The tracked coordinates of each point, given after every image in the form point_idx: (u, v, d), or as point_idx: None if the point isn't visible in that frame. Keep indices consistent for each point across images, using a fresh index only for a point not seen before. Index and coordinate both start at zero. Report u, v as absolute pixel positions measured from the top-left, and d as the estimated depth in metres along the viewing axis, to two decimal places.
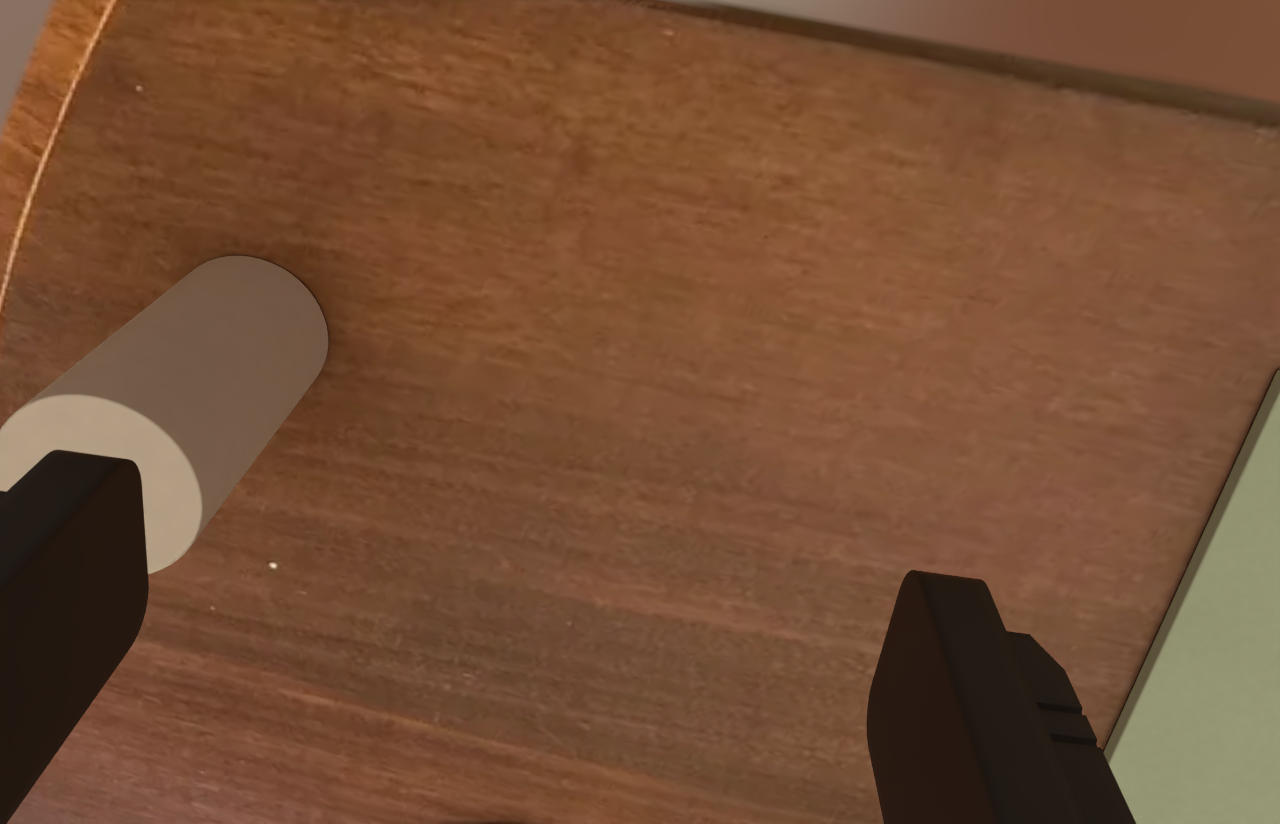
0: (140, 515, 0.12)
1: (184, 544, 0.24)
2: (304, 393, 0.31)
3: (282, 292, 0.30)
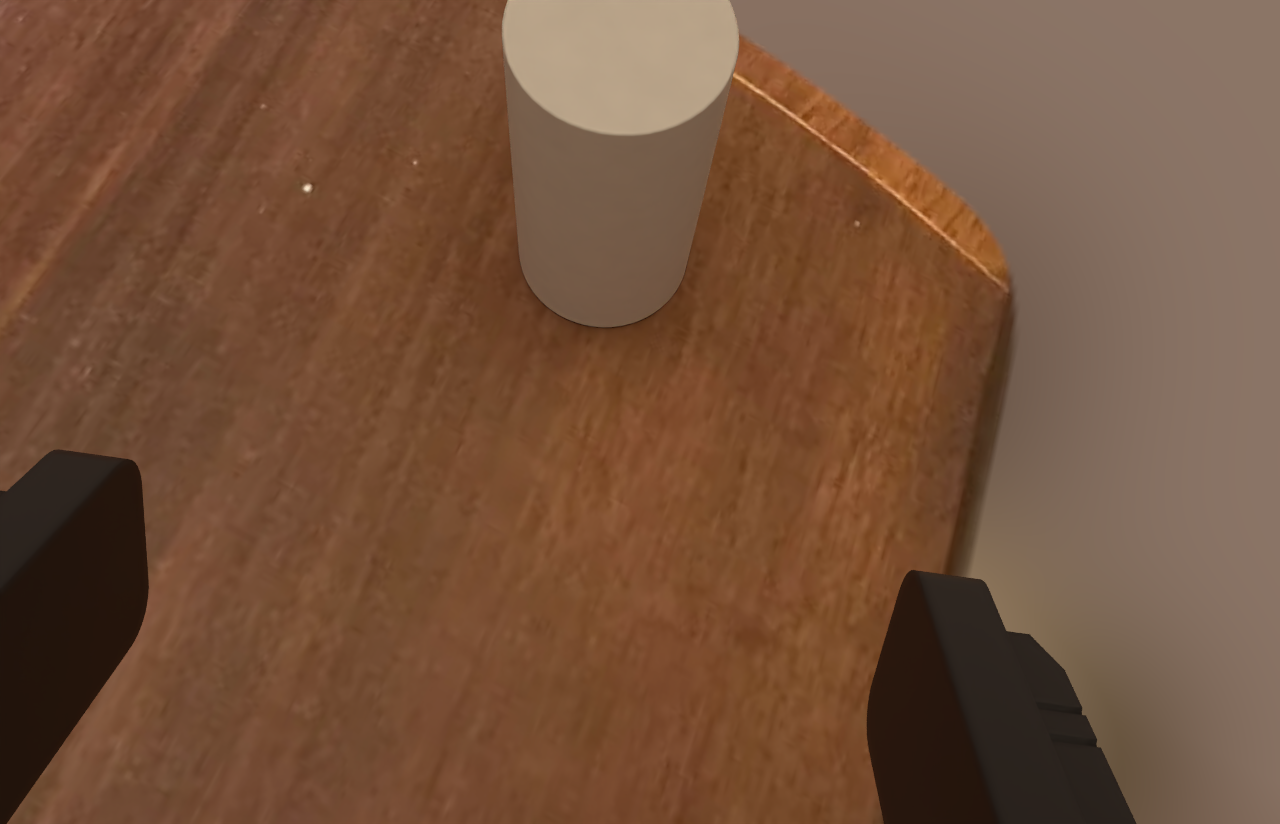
0: (140, 515, 0.12)
1: (539, 95, 0.20)
2: (541, 282, 0.27)
3: (659, 293, 0.28)
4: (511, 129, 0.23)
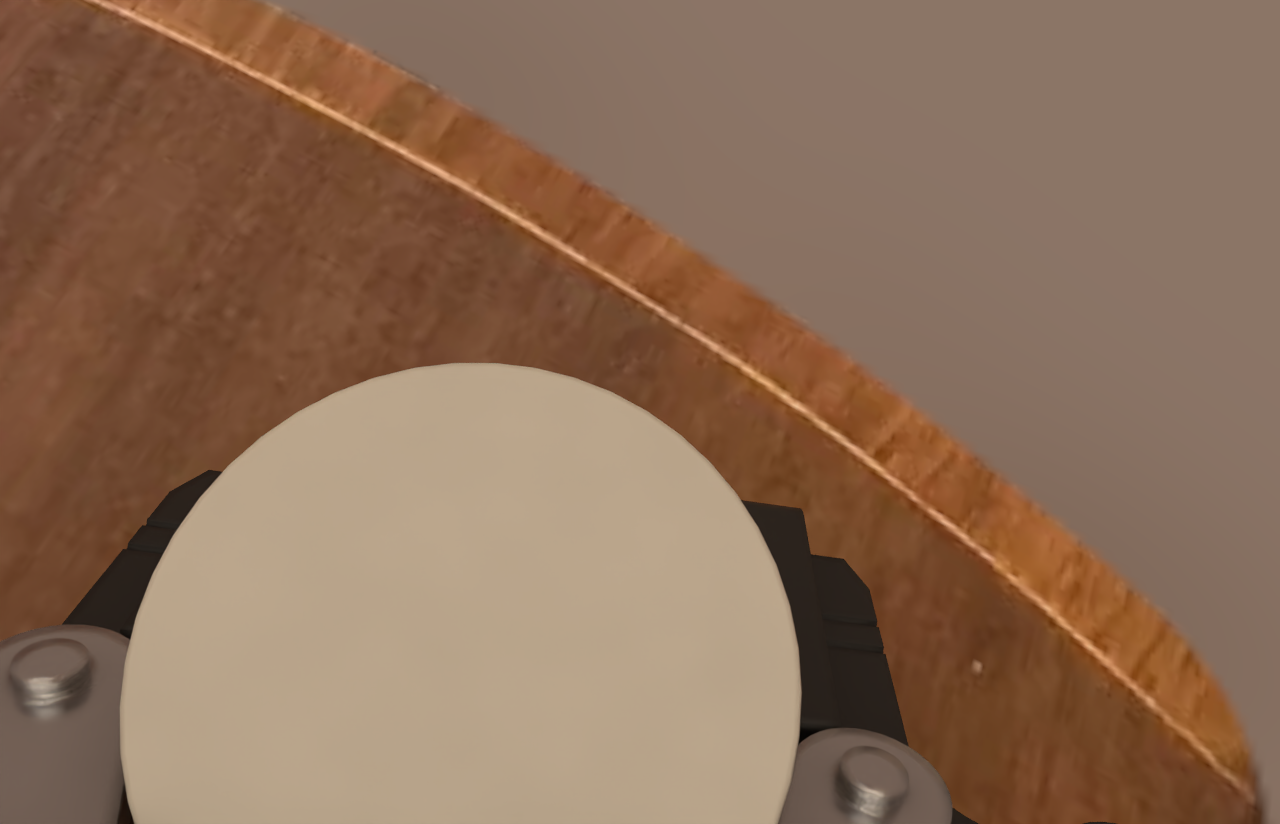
0: None
1: None
2: None
3: None
4: None
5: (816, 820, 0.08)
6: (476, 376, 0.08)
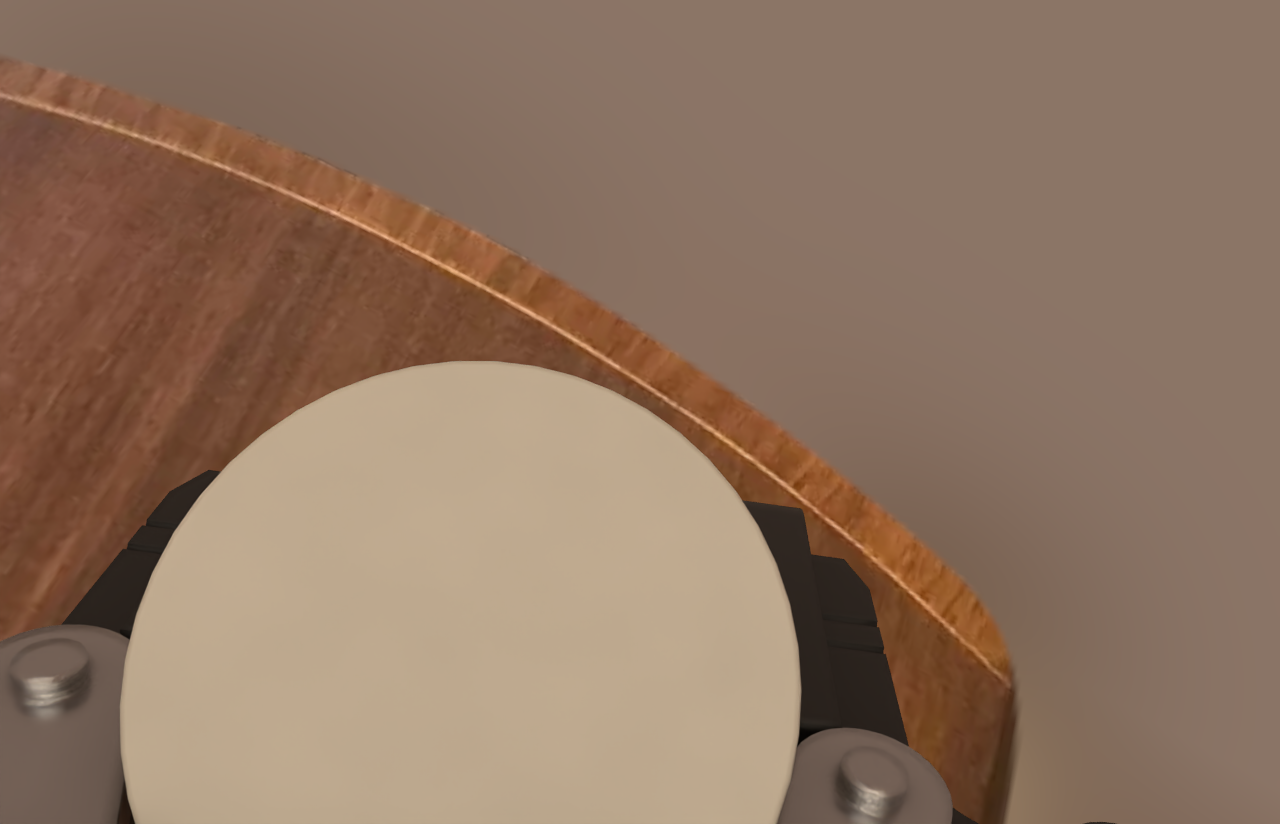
0: None
1: None
2: None
3: None
4: None
5: (816, 820, 0.08)
6: (476, 374, 0.08)
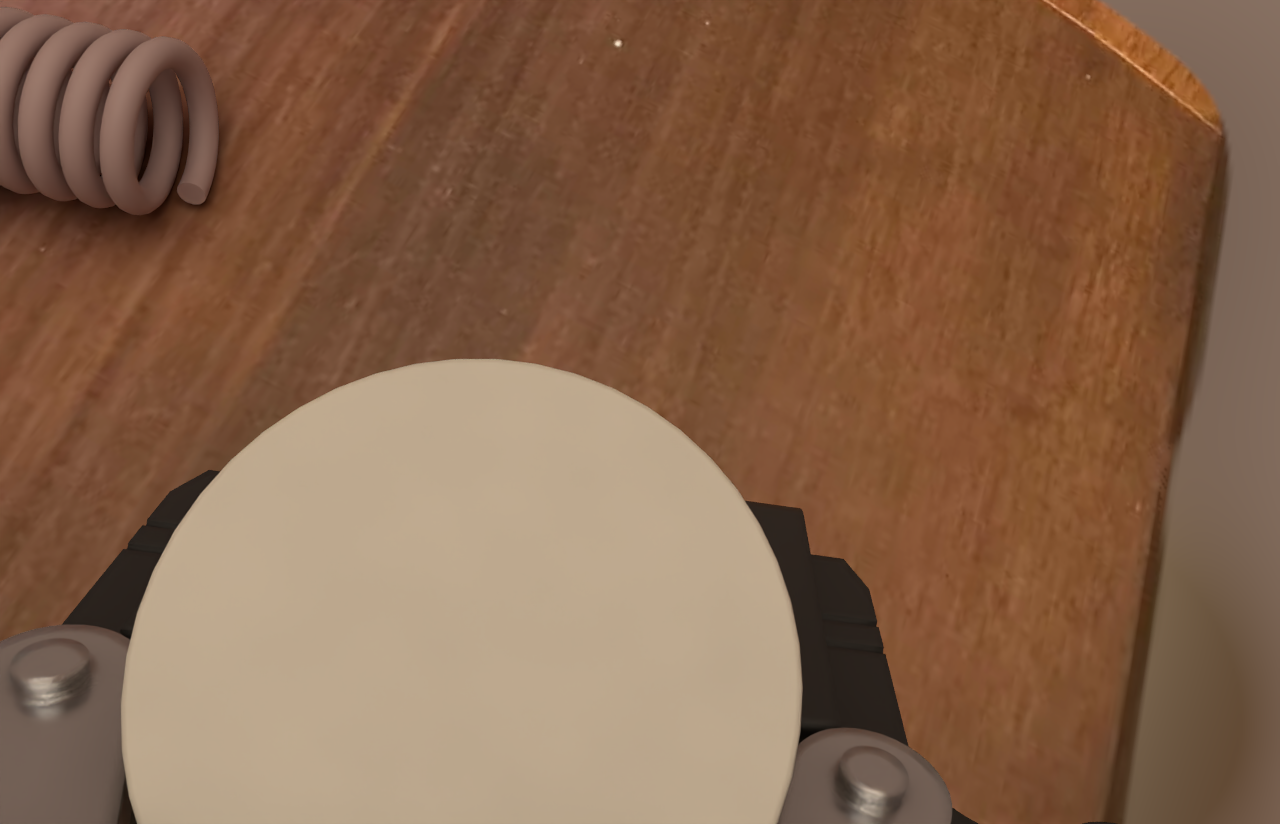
0: None
1: None
2: None
3: None
4: None
5: (815, 820, 0.08)
6: (477, 372, 0.08)
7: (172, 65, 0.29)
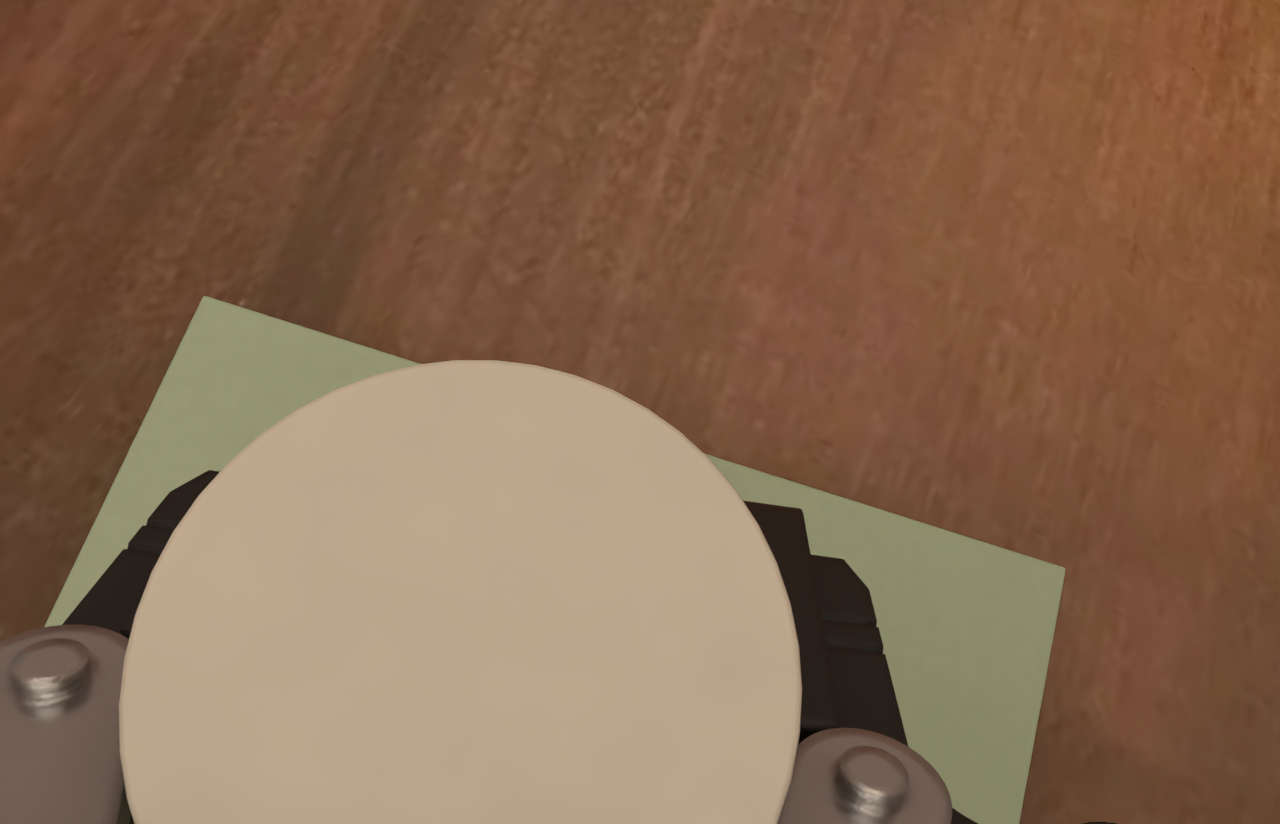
0: None
1: None
2: None
3: None
4: None
5: (816, 820, 0.08)
6: (476, 373, 0.08)
7: None
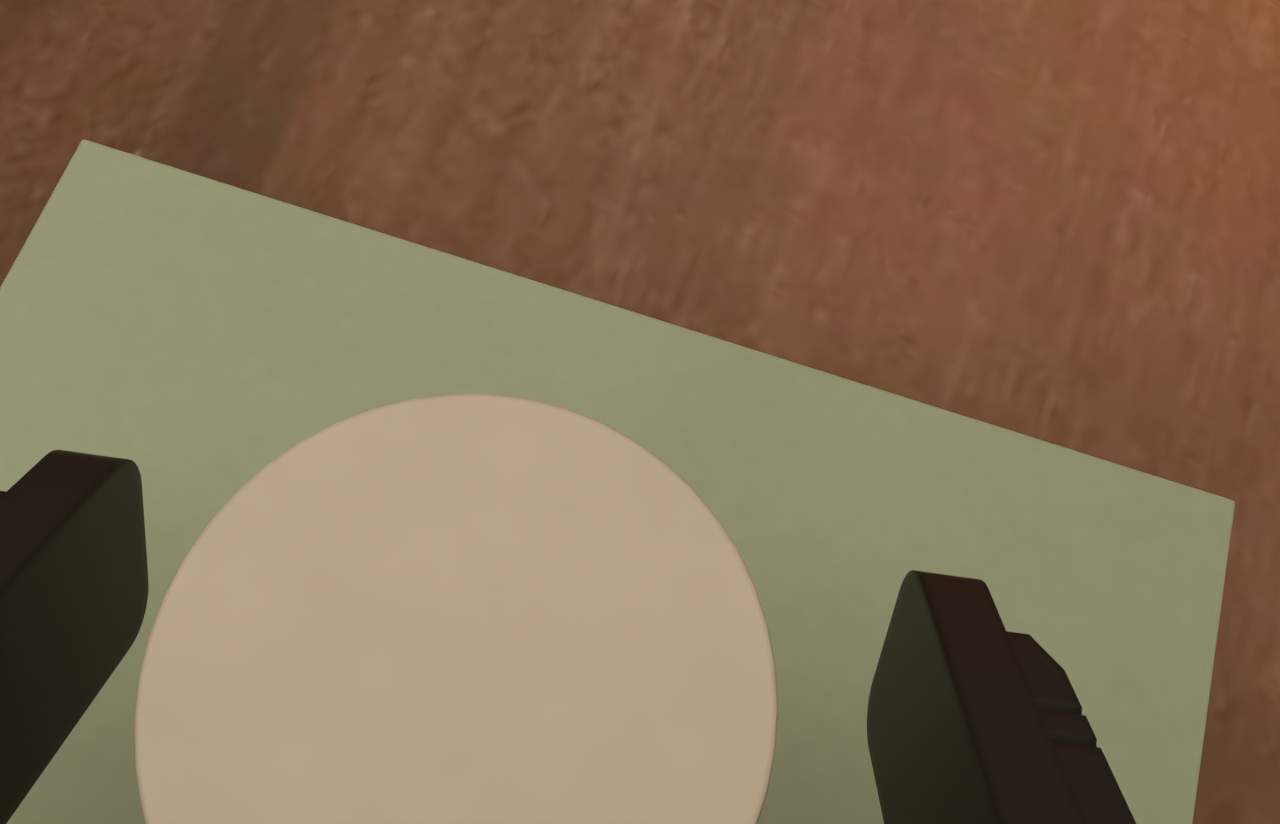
0: (140, 515, 0.12)
1: None
2: None
3: None
4: None
5: None
6: (470, 407, 0.08)
7: None
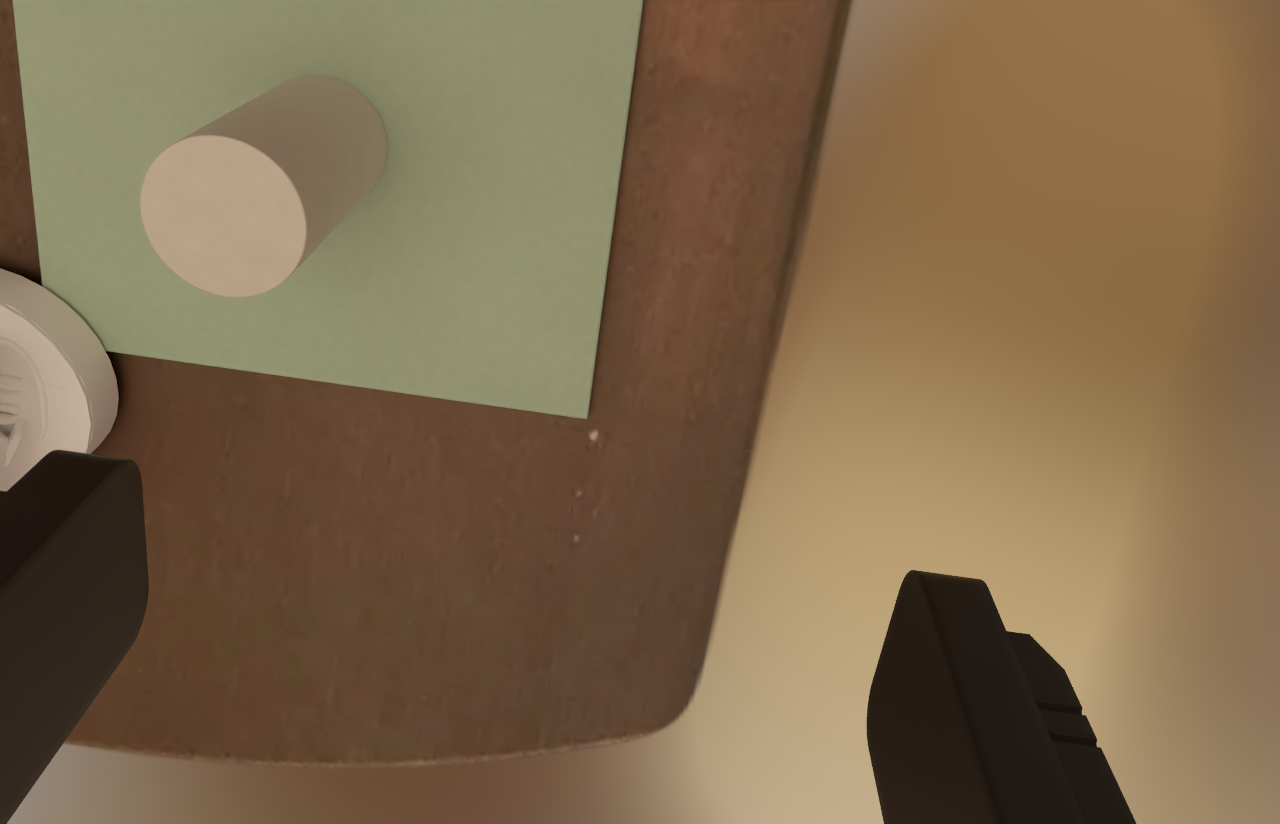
0: (140, 515, 0.12)
1: (188, 279, 0.30)
2: None
3: None
4: None
5: None
6: (195, 141, 0.29)
7: None
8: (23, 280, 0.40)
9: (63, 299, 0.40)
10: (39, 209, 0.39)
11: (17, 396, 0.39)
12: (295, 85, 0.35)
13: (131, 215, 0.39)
